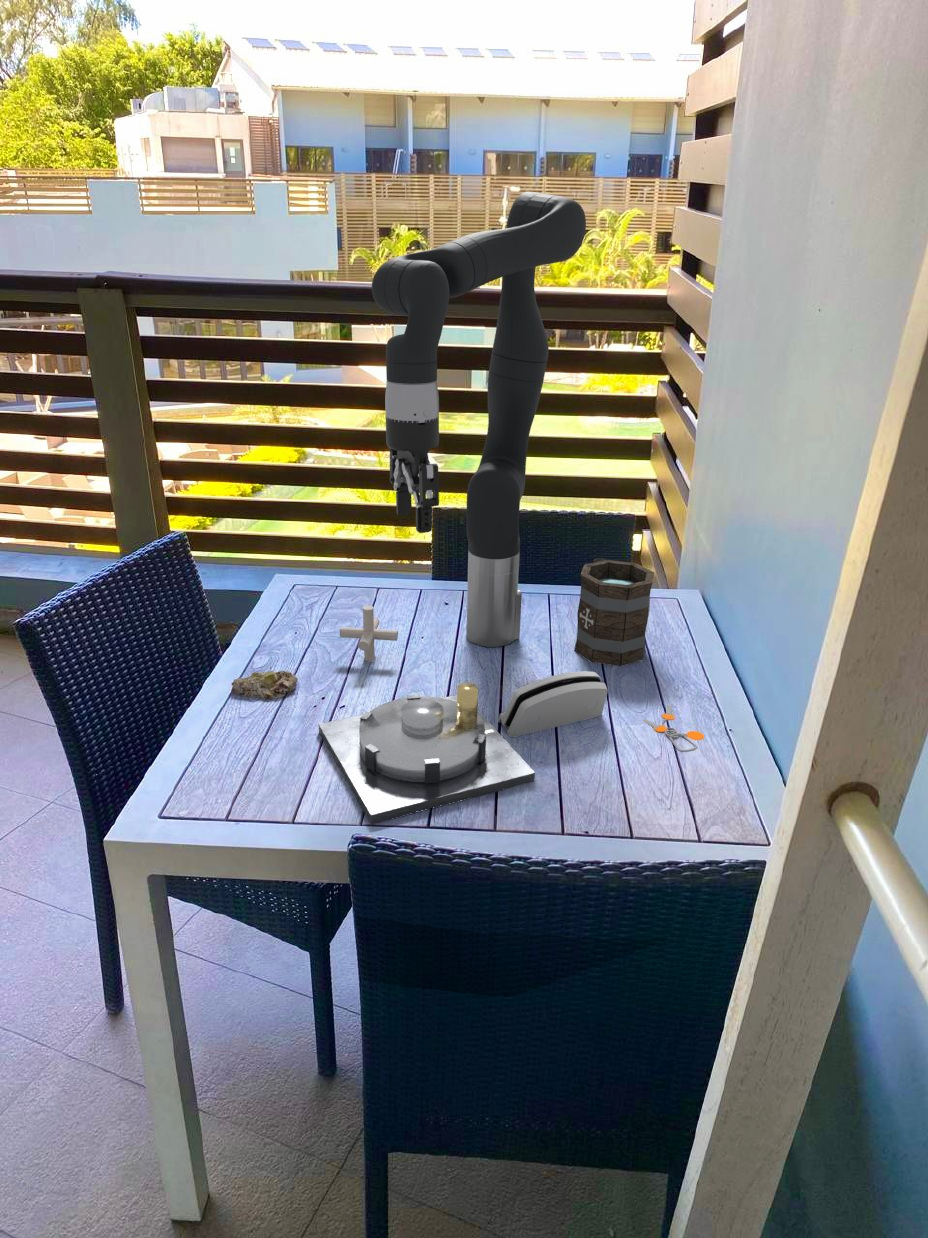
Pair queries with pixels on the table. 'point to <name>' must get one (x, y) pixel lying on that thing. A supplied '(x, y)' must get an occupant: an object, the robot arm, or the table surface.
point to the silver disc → (424, 736)
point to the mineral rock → (265, 684)
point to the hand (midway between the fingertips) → (413, 523)
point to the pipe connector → (368, 633)
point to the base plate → (404, 797)
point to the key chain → (661, 728)
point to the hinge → (554, 702)
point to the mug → (613, 612)
